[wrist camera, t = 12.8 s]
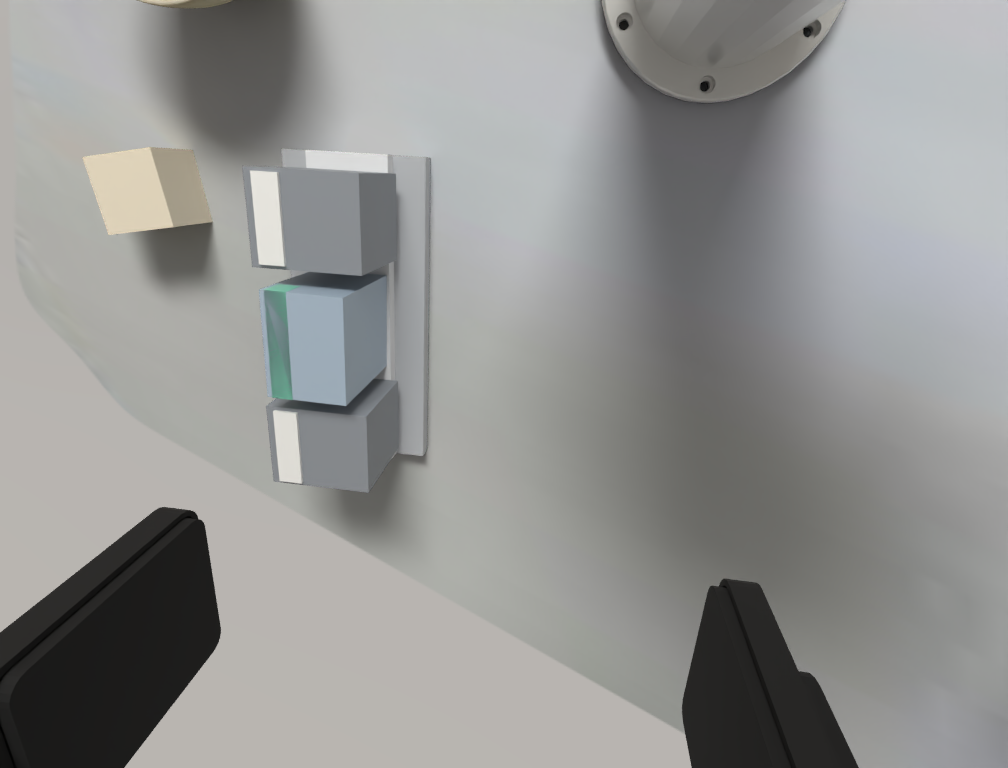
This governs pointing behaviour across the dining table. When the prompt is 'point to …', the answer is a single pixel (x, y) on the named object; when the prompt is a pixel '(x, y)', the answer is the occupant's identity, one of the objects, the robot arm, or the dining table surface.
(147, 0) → the olive bowl
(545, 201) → the dining table surface
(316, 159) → the rail fixture
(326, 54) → the dining table surface
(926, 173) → the dining table surface
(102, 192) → the beige cube
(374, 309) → the module
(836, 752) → the robot arm
